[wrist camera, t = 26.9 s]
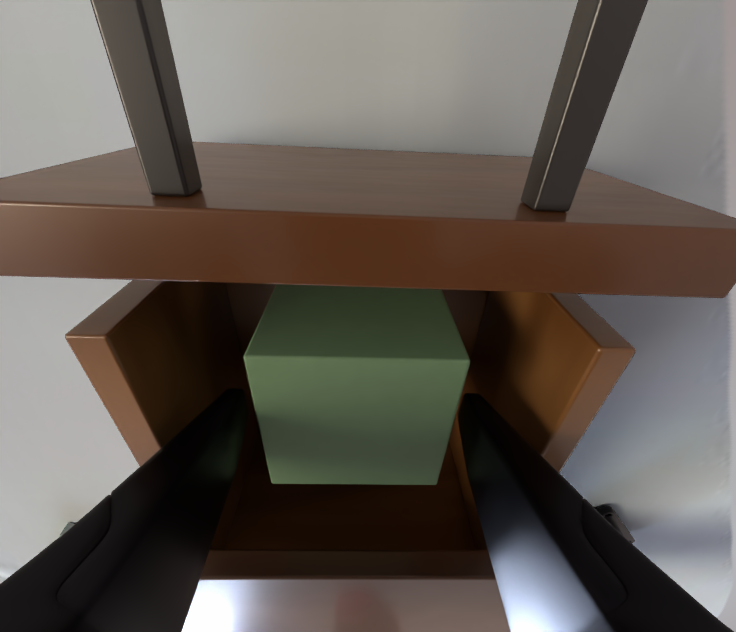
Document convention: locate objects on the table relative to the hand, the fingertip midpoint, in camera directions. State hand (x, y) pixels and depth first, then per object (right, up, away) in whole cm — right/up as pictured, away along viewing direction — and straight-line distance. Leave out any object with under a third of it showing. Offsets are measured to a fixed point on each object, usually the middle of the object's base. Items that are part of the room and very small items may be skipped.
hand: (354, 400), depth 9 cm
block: (0, +2, +3) cm, 4 cm away
